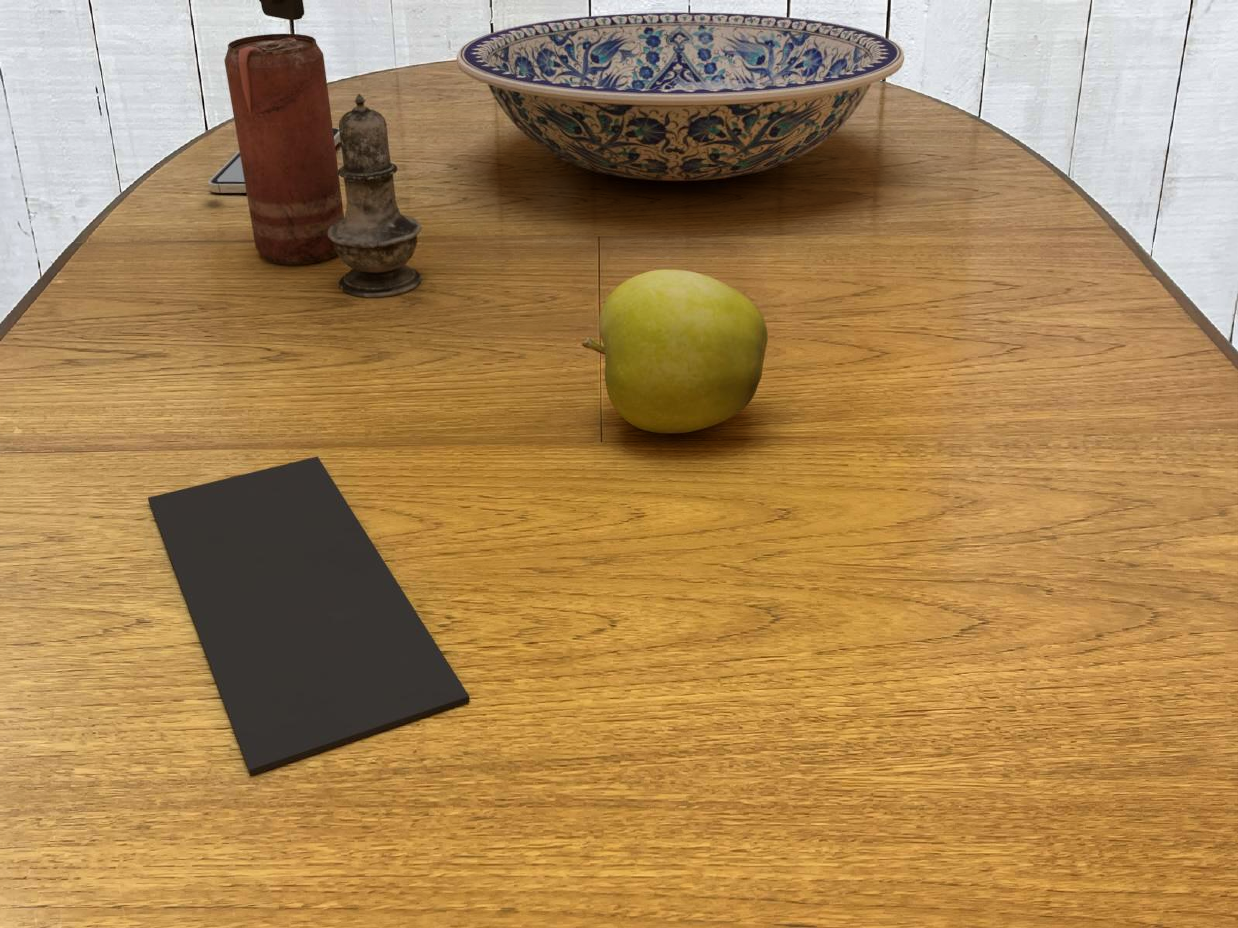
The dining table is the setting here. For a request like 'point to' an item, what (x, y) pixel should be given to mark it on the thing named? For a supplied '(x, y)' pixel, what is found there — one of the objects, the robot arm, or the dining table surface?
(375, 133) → the salt shaker
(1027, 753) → the dining table surface
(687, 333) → the apple
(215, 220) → the dining table surface
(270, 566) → the black mat
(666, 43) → the ceramic bowl
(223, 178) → the smartphone
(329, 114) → the can
